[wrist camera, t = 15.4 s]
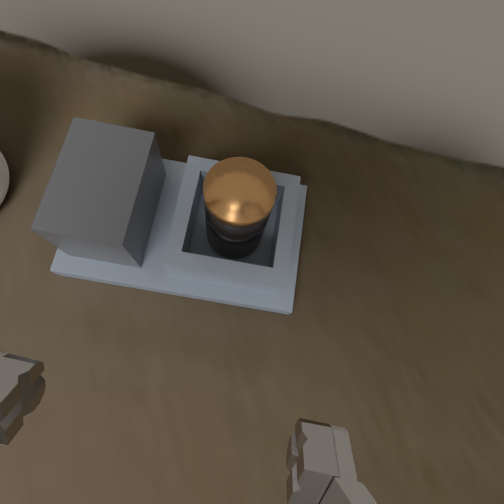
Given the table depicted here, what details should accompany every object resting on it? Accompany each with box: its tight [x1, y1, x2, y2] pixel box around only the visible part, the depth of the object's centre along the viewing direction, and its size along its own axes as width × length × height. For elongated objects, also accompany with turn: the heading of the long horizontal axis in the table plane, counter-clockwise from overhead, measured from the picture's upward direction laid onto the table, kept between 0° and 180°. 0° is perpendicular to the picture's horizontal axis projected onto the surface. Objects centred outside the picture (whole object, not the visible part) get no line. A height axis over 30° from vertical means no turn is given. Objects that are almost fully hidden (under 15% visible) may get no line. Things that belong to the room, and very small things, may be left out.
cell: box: [203, 157, 277, 259], centre depth 26 cm, size 5×5×8 cm
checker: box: [31, 117, 307, 315], centre depth 28 cm, size 20×12×8 cm, turn 81°
